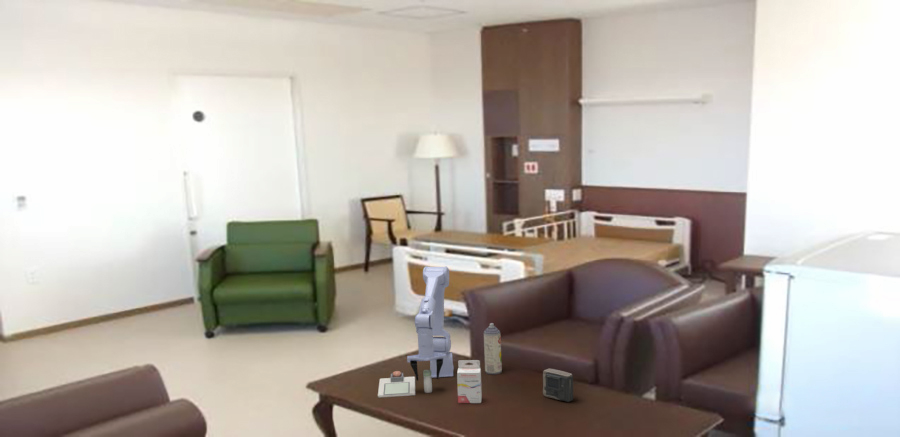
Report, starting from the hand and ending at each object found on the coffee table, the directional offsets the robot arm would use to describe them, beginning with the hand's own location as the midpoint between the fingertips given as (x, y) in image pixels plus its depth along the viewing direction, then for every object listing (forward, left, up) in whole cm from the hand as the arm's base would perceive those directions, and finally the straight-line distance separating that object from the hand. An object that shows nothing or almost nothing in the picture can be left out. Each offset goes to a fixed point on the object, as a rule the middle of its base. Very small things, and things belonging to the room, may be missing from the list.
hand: (427, 379), depth 271 cm
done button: (+12, -13, -3) cm, 18 cm away
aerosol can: (-27, -17, -5) cm, 32 cm away
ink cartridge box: (-15, +12, -5) cm, 20 cm away
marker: (0, 0, -5) cm, 5 cm away
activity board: (+12, -6, -5) cm, 14 cm away
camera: (-47, +15, -5) cm, 50 cm away
